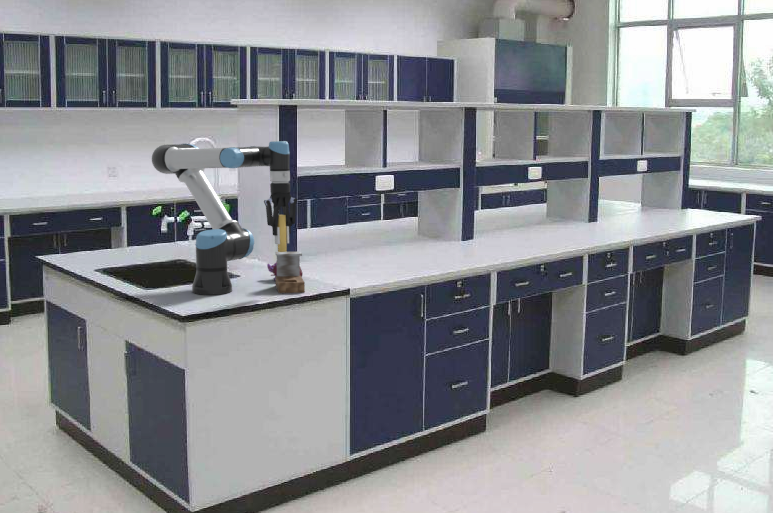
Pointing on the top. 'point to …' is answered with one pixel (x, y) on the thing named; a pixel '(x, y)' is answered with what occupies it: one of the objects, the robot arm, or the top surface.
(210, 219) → the robot arm
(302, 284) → the peg socket stand
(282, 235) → the peg
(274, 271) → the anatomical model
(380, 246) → the top surface
